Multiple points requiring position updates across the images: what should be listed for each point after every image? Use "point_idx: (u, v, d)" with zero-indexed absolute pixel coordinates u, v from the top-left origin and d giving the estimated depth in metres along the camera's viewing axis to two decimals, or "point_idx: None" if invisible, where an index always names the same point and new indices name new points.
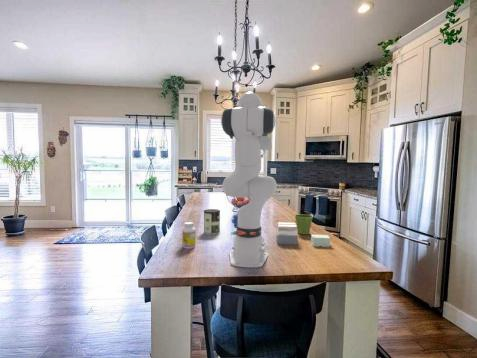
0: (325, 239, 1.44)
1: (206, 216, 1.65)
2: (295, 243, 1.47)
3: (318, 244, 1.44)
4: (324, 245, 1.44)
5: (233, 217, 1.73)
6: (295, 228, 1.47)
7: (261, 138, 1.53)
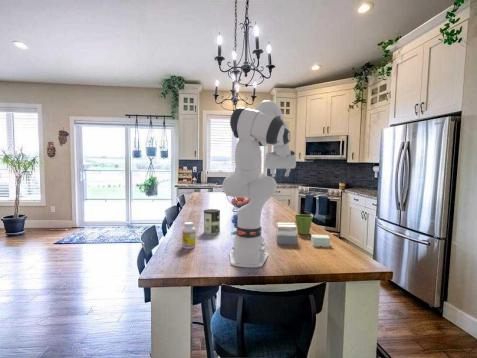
0: (325, 239, 1.44)
1: (206, 216, 1.65)
2: (295, 243, 1.47)
3: (318, 244, 1.44)
4: (324, 245, 1.44)
5: (233, 217, 1.73)
6: (294, 228, 1.47)
7: (289, 157, 1.52)
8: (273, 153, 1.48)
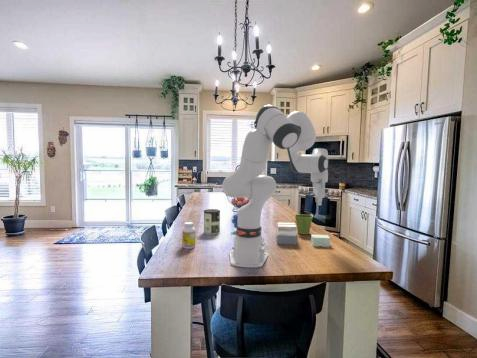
0: (325, 239, 1.44)
1: (206, 216, 1.65)
2: (295, 243, 1.47)
3: (318, 244, 1.44)
4: (324, 245, 1.44)
5: (233, 217, 1.73)
6: (295, 228, 1.47)
7: None
8: (321, 180, 1.40)
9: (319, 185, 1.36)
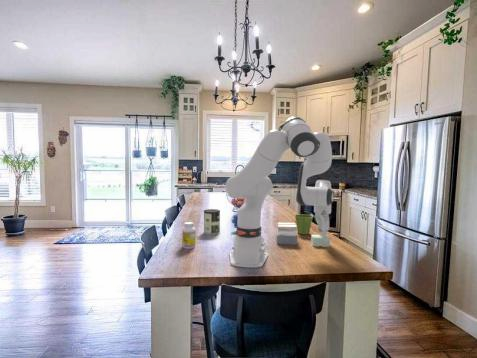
0: (325, 239, 1.44)
1: (206, 216, 1.65)
2: (295, 243, 1.47)
3: (318, 244, 1.44)
4: (324, 245, 1.44)
5: (233, 217, 1.73)
6: (295, 228, 1.47)
7: None
8: None
9: (323, 218, 1.36)
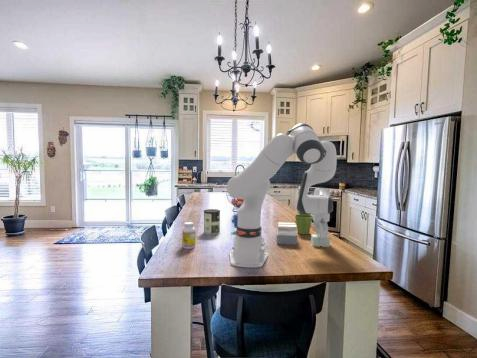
0: (325, 239, 1.44)
1: (206, 216, 1.65)
2: (295, 243, 1.47)
3: (318, 244, 1.44)
4: (324, 245, 1.44)
5: (233, 217, 1.73)
6: (295, 228, 1.47)
7: None
8: None
9: (322, 226, 1.37)
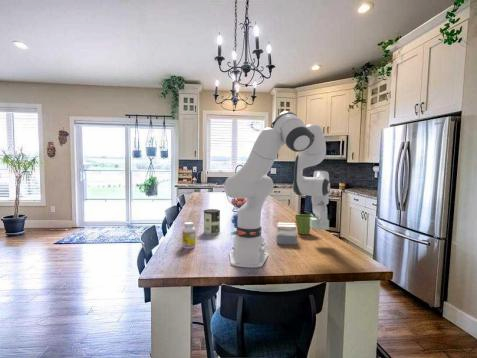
0: (324, 221, 1.44)
1: (206, 216, 1.65)
2: (295, 243, 1.47)
3: (317, 226, 1.45)
4: (323, 227, 1.45)
5: (233, 217, 1.73)
6: (294, 228, 1.47)
7: None
8: None
9: (321, 208, 1.38)
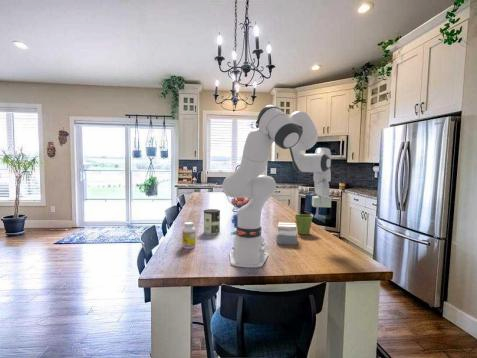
0: (326, 199, 1.43)
1: (206, 216, 1.65)
2: (295, 243, 1.47)
3: (319, 204, 1.43)
4: (325, 205, 1.43)
5: (233, 217, 1.73)
6: (294, 228, 1.47)
7: None
8: None
9: (323, 184, 1.36)
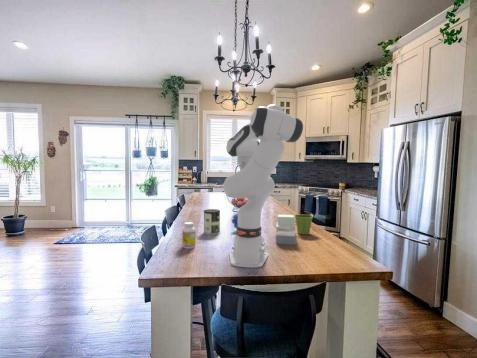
0: (290, 218, 1.49)
1: (206, 216, 1.65)
2: (294, 243, 1.47)
3: (283, 223, 1.50)
4: (289, 224, 1.50)
5: (233, 217, 1.73)
6: (293, 228, 1.47)
7: None
8: (244, 163, 1.51)
9: (241, 167, 1.48)
